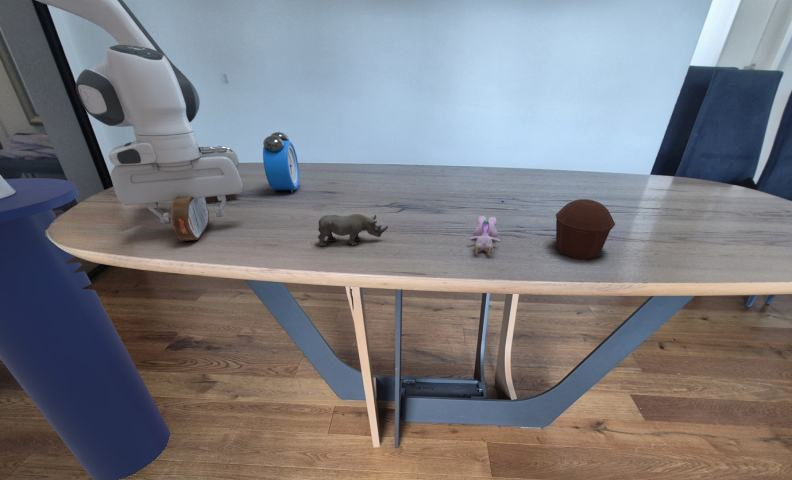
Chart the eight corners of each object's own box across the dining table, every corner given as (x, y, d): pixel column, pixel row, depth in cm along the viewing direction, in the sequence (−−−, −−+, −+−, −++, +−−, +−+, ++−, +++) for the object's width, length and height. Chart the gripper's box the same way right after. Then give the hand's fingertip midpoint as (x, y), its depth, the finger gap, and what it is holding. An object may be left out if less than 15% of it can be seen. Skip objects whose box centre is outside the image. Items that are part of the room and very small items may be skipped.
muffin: (611, 265, 70) (625, 215, 65) (552, 259, 71) (560, 209, 66) (601, 240, 80) (612, 195, 75) (549, 236, 81) (557, 191, 76)
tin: (199, 220, 82) (186, 183, 78) (215, 219, 83) (203, 182, 79) (179, 248, 70) (163, 205, 66) (198, 246, 71) (183, 204, 67)
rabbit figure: (498, 263, 72) (501, 224, 83) (500, 237, 68) (503, 200, 79) (466, 261, 72) (473, 222, 84) (467, 235, 68) (474, 198, 80)
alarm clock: (293, 196, 100) (282, 137, 92) (269, 197, 99) (255, 137, 91) (302, 183, 111) (292, 130, 103) (280, 183, 110) (269, 130, 102)
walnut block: (199, 203, 92) (191, 179, 89) (199, 191, 101) (192, 169, 98) (235, 199, 96) (229, 176, 93) (232, 187, 105) (227, 166, 102)
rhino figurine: (389, 244, 75) (387, 216, 72) (317, 248, 72) (312, 218, 69) (388, 236, 78) (386, 209, 75) (320, 239, 75) (315, 211, 73)
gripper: (233, 142, 75) (250, 207, 82) (103, 149, 66) (134, 222, 73) (235, 148, 71) (253, 216, 78) (95, 156, 61) (129, 233, 68)
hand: (194, 219), depth 75 cm, fingers open, 8 cm apart
